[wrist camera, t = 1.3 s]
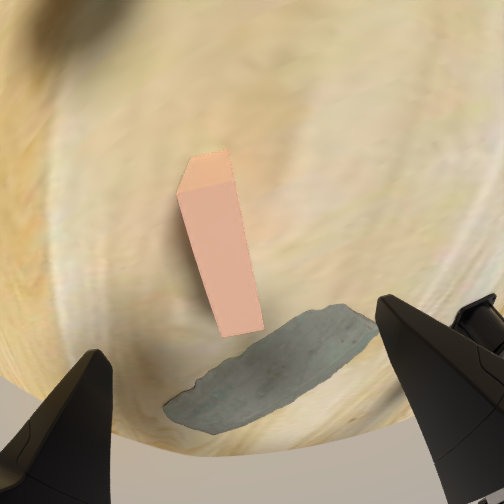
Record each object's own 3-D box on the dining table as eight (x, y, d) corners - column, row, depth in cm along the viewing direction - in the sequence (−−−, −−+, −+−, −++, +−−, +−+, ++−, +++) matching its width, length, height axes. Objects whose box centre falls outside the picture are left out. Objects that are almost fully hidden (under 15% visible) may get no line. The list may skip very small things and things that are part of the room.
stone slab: (159, 396, 28) (229, 429, 31) (154, 415, 25) (228, 447, 28) (317, 263, 21) (383, 326, 24) (326, 282, 19) (394, 346, 22)
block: (228, 148, 14) (234, 180, 9) (250, 260, 18) (264, 329, 13) (190, 157, 14) (176, 193, 9) (218, 266, 18) (222, 337, 13)
